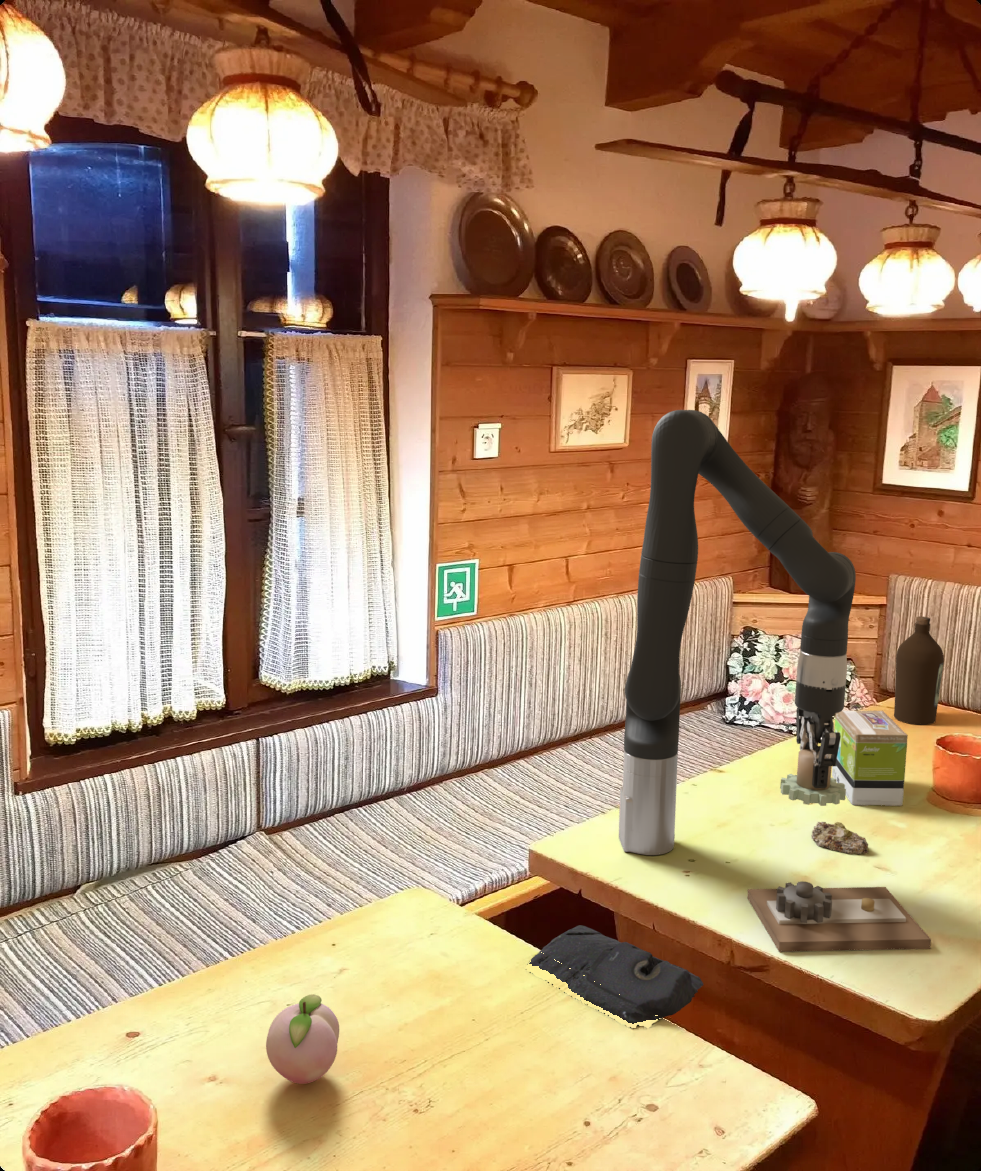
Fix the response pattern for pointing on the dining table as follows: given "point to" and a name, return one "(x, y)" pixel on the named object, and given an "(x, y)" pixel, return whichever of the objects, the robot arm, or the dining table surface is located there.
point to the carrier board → (835, 919)
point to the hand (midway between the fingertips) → (813, 780)
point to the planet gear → (803, 788)
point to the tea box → (870, 758)
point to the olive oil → (918, 676)
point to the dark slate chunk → (617, 975)
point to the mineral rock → (838, 838)
